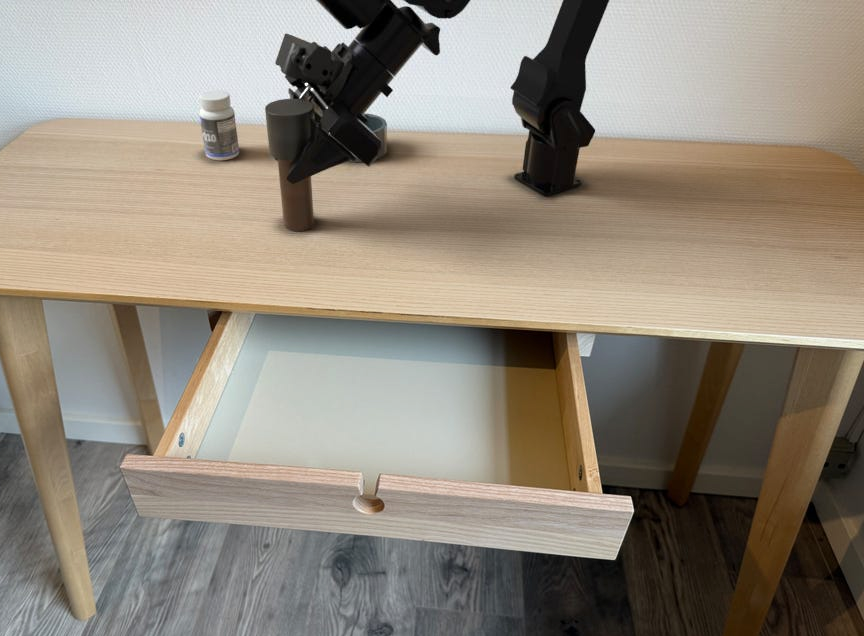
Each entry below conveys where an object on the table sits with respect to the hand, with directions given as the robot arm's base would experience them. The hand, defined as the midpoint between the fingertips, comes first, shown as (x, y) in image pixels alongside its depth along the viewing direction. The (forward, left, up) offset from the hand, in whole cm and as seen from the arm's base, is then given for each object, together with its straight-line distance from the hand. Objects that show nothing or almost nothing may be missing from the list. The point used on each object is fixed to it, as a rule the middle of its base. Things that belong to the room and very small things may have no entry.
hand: (282, 170), depth 80 cm
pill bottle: (+24, -1, -7) cm, 25 cm away
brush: (0, -1, -7) cm, 7 cm away
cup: (+15, -18, -7) cm, 25 cm away
